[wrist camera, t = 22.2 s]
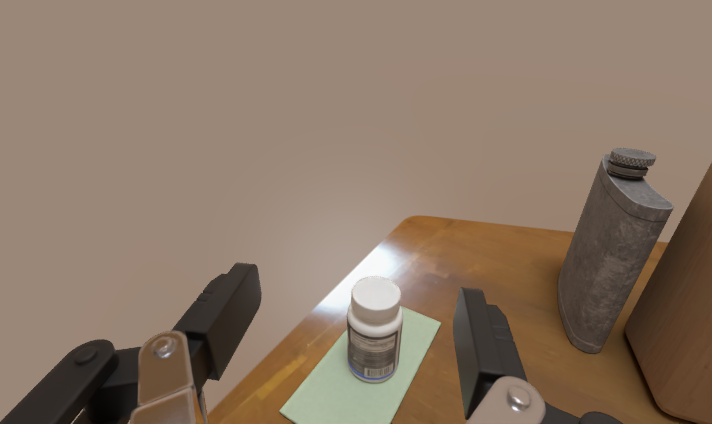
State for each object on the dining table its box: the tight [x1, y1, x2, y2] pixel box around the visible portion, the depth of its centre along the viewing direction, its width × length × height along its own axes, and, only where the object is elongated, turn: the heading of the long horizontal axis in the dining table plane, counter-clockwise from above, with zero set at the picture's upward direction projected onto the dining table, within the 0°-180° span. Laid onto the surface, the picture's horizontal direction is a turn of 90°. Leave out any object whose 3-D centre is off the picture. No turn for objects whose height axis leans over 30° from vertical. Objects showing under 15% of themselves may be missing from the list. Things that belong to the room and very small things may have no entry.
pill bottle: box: [347, 276, 403, 383], centre depth 29 cm, size 5×5×8 cm
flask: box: [557, 148, 674, 353], centre depth 34 cm, size 4×14×18 cm, turn 155°
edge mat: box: [279, 306, 441, 424], centre depth 31 cm, size 16×8×1 cm, turn 149°
